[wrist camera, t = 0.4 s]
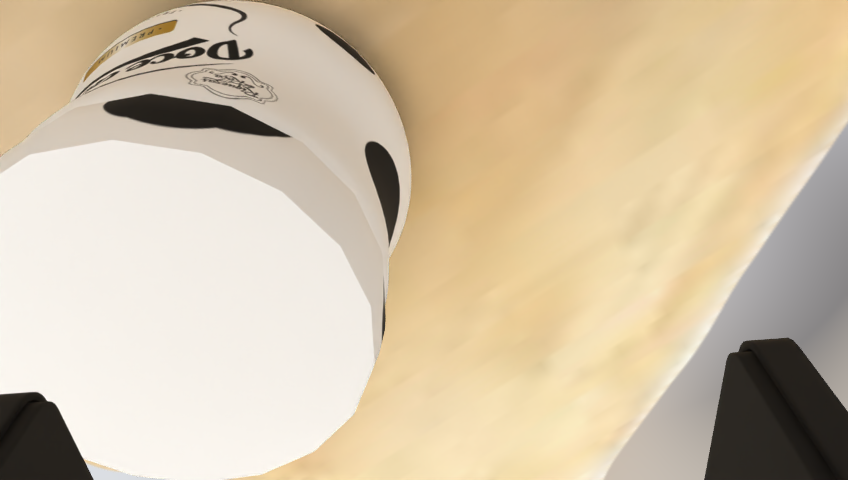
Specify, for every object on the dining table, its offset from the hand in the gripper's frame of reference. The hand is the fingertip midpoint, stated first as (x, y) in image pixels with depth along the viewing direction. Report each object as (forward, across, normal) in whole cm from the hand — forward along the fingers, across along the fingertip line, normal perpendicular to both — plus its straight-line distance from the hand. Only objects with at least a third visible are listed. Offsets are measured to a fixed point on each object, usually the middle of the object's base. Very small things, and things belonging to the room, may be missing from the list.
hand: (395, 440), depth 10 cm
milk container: (+30, +9, +7) cm, 32 cm away
